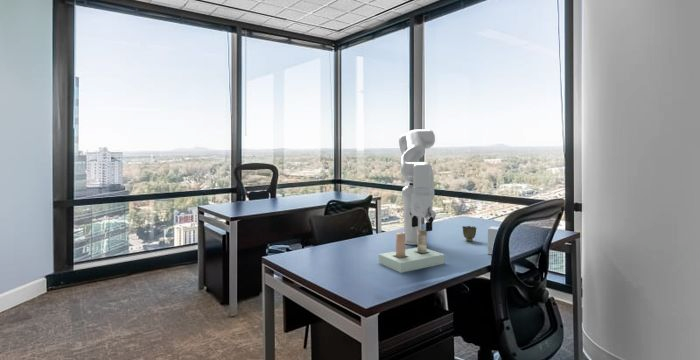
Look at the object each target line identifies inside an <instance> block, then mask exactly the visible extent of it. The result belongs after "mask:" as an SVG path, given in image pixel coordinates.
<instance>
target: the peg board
mask: <svg viewBox="0 0 700 360" xmlns="http://www.w3.org/2000/svg"><path fill="white" fill-rule="evenodd" d="M417 252H418V246H417V247H412V248H405V258H401V259H399V258H396V250H395V251H390V252H383V253H379V254H378V264H379V265H382V266H384V267H387V268H389V269H391V270H394V271H396V272H398V273H400V274H401V273H406V272H411V271H416V270H421V269H425V268H429V267H434V266H438V265H444V264H445V262H446V261H445V259H446V258H445V254H444V253H442V252H438V251H435V250H433V249H429V248H427V254H422V255H421V254H418V253H417Z"/></svg>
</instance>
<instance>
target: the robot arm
mask: <svg viewBox="0 0 700 360" xmlns="http://www.w3.org/2000/svg"><path fill="white" fill-rule="evenodd" d="M435 142H436V135H435V133H434V131H433V130H431V129H412V130H409V131H408V132H407V133H403V134H401V135H400V136H399V138H398V144H399V146H398V147H399V149H400V152H401V156H400V157H401V158H400V160H399V165H400V166H399V168H400V173H401V176H402V177H403V178H404V181H405V182H406V183H408V184H410V185H405V186H404V187H403V188H402V190H401V198H402V204H403V206H402V207H403V231H402V233H405V245H412V246H413V245H414V246H415V245H417V246H418V232H417V230H422V218H423V219H425V220H426V222H425V230H426V231H427V232H432V231H433V222H434V221H435V220H436V219H435V218H436V216H437V213H436V212H435V211H434V210H433V201H434V200H435V180H434V179H435V177H434V170H433V166H432V164H431V163H430V162H427V161H420V159H421V158H422V157H424V155H425V153H426V150H427V149H431V148H433V146H434V145H435ZM411 184H412V185H411Z"/></svg>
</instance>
